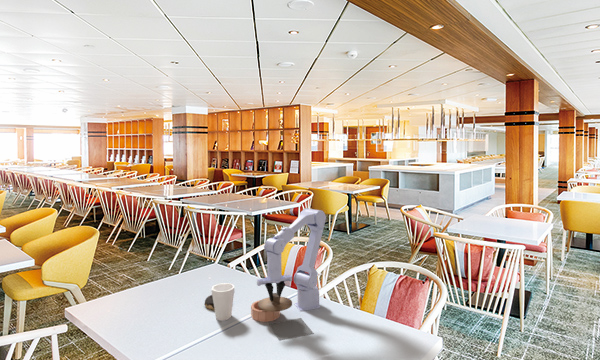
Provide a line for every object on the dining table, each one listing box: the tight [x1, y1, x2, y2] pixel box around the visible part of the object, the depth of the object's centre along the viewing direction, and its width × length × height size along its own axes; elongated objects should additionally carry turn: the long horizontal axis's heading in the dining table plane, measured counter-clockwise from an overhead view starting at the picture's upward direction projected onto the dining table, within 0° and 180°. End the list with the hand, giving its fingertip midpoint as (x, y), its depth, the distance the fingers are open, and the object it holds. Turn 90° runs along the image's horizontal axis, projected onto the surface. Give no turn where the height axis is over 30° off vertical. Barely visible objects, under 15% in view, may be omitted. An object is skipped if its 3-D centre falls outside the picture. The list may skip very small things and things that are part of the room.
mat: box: [268, 317, 315, 341], centre depth 147 cm, size 14×14×1 cm
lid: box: [258, 292, 293, 312], centre depth 153 cm, size 14×14×4 cm
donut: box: [204, 294, 215, 311], centre depth 170 cm, size 11×12×4 cm
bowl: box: [250, 299, 281, 323], centre depth 159 cm, size 12×12×4 cm
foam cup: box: [211, 282, 235, 322], centre depth 157 cm, size 10×9×13 cm
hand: (274, 299), depth 154 cm, fingers closed on lid, 2 cm apart
